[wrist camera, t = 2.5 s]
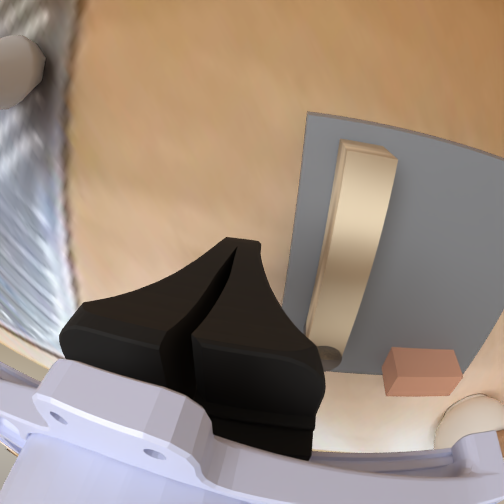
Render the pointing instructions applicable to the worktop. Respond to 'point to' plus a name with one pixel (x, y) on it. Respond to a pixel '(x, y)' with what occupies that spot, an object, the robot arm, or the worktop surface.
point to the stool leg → (349, 244)
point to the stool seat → (409, 255)
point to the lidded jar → (470, 420)
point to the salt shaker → (19, 69)
